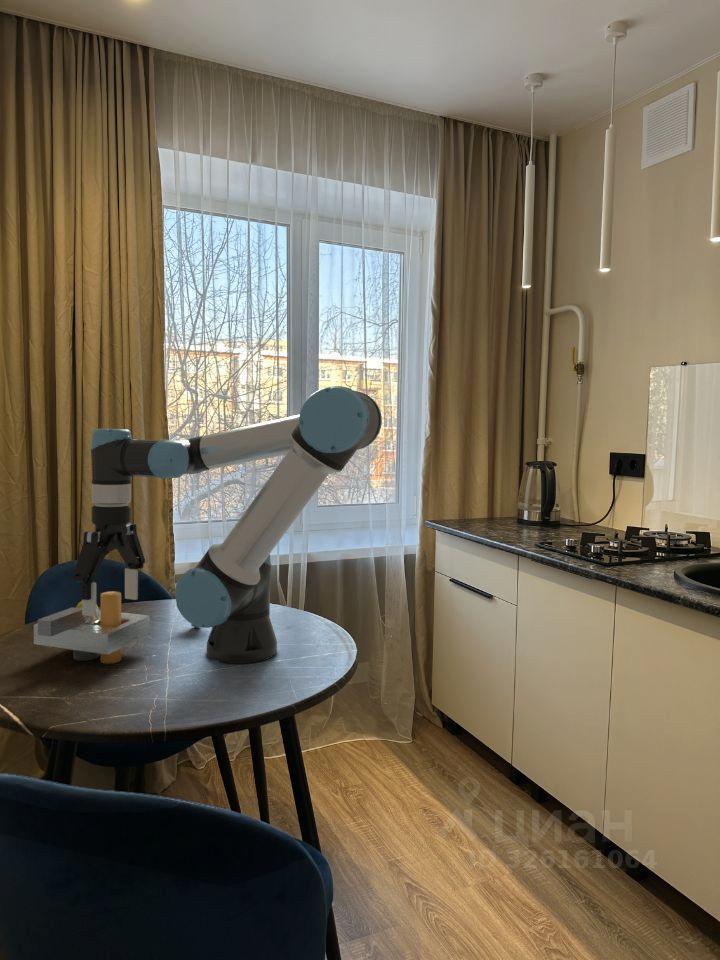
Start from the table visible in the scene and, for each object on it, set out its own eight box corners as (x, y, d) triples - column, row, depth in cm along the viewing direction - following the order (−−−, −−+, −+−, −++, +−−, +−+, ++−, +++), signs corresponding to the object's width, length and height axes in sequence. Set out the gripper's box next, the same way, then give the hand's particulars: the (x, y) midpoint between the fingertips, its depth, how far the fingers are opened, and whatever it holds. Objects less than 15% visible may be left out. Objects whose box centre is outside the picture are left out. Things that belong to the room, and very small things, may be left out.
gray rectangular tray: (149, 652, 142) (149, 602, 141) (90, 683, 124) (90, 626, 123) (81, 642, 147) (80, 594, 146) (14, 671, 129) (14, 616, 128)
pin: (108, 655, 139) (108, 590, 138) (125, 658, 138) (125, 592, 137) (96, 662, 135) (96, 595, 134) (113, 664, 134) (113, 597, 133)
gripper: (132, 497, 147) (132, 591, 149) (51, 509, 123) (52, 620, 125) (161, 499, 145) (161, 594, 147) (85, 512, 121) (86, 625, 123)
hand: (111, 606), depth 136 cm, fingers open, 13 cm apart
